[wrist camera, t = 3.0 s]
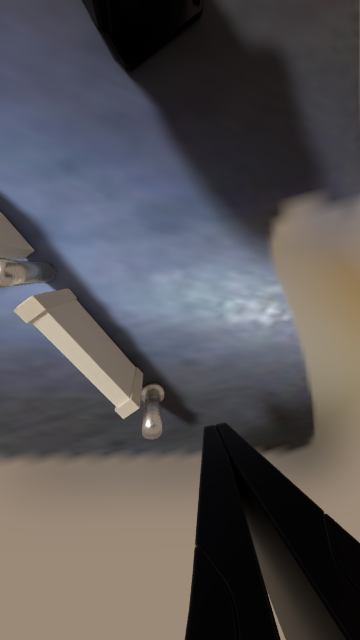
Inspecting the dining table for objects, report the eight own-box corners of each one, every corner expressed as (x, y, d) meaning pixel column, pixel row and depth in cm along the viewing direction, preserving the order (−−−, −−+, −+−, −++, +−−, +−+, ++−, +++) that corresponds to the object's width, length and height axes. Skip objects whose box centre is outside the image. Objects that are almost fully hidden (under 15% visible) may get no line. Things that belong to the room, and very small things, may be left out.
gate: (53, 297, 16) (12, 308, 11) (67, 287, 16) (31, 294, 11) (131, 383, 19) (124, 419, 14) (144, 374, 19) (140, 409, 14)
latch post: (155, 378, 20) (155, 413, 15) (168, 393, 20) (172, 432, 15) (136, 391, 20) (130, 430, 15) (150, 406, 20) (148, 448, 16)
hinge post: (46, 258, 15) (-3, 253, 11) (60, 274, 16) (19, 276, 11) (31, 269, 16) (-25, 269, 11) (45, 285, 16) (-2, 292, 11)
